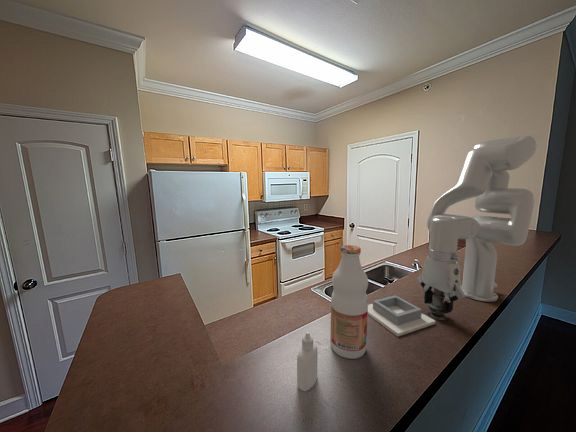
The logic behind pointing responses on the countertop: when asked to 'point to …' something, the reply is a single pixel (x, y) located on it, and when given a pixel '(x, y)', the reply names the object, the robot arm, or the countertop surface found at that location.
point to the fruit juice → (349, 305)
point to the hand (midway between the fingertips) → (437, 306)
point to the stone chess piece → (437, 305)
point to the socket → (398, 315)
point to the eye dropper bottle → (307, 363)
